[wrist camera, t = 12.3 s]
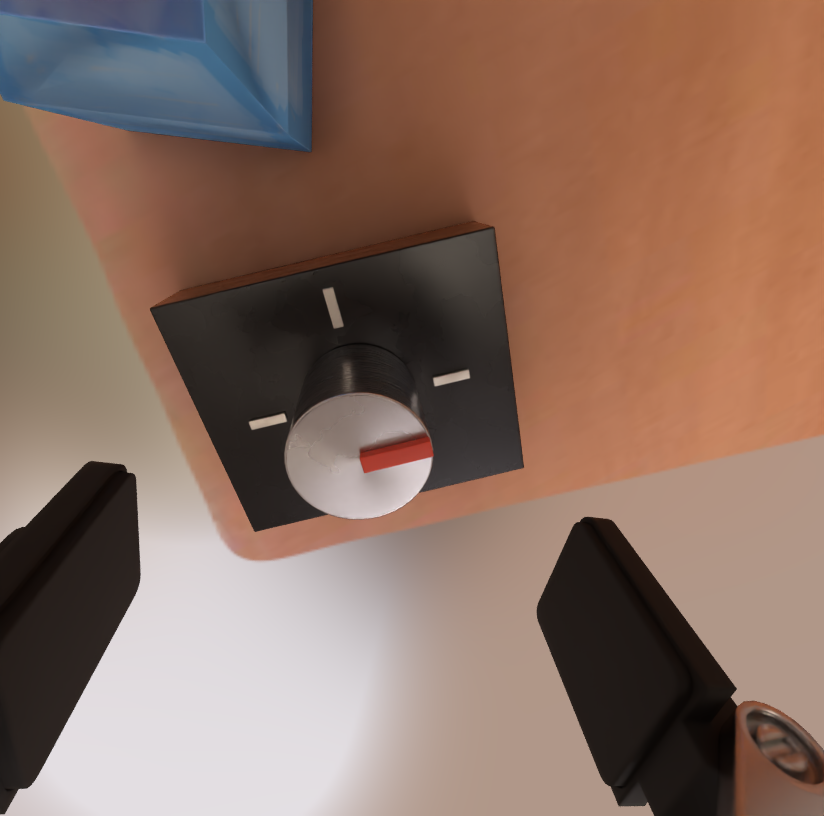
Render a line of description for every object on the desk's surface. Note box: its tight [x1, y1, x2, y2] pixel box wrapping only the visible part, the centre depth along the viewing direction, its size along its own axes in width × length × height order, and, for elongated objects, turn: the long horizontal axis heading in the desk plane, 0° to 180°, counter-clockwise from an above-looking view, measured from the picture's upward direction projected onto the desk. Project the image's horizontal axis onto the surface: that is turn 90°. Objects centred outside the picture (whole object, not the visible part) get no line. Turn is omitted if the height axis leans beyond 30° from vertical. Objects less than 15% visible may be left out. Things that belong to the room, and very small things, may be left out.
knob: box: [284, 344, 434, 519], centre depth 16 cm, size 4×4×5 cm
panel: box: [150, 221, 524, 532], centre depth 19 cm, size 10×12×3 cm
